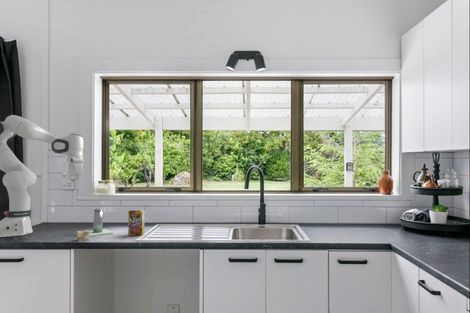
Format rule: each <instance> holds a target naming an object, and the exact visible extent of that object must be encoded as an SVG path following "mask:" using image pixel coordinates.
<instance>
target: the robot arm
mask: <svg viewBox="0 0 470 313" xmlns="http://www.w3.org/2000/svg"><path fill="white" fill-rule="evenodd" d="M16 135H17V136H19V137H21V138H24V139H26V140H31V141H40V142H44V143H47V144H49V145H50V147H51V150H52V152H54V153H56V154H58V155H66V156H67V159H66V160H67V161H66V162H67V163H68V169H67V170H68V171H67V174H68V175H70V176H69V177H70V182H71V183H73V182H74V183H79V178H80V176H81V175H82V174H83V168H84V163H85V159H84V138H83V136H82V135H81V134H77V133H69V134H67V135H66V136H63V137H60V136H58V135H55V134H54V133H51V132H49V131H47V130H46V129H45V128H42V127H40V126H39V125H38V124H36V123H34V122H33V121H31V120H29V119H27V118H24V117H22V116H19V115H15V114H11V115H8V116H6V118H5V120H4V121H0V171H3V172H4V173H5V174H4V175H3V177H2V183H3V185H4V187H5V188H6V191H7V194H8V200H9V203H8V204H9V210H7V211H3V214H4V216H5V217H4V218H2V219H1V220H0V238H5V237H7V238H8V237H17V236H18V237H20V236H24V235H29V234H31V233H33V232H34V230H33V227H32V221H31V220H32V219H31V218H32V210H31V204H32V203H31V202H32V201H31V200H32V199H31V196H30V194H29V193H28V189H27V188H30V187H31V186H34V185H35V184H36V183H37V180H38V177H37V175H36V173H35V172H33V171H31V170H30V169H29V168H28V167H27V166H26V165H25V164H24V163H23V162H21V161H20V159H18V158H17V156H16V155H15V153H13V150H11V148H10V147H9V146H8V143H10V142H11V141H12V139H14V138H16Z"/></svg>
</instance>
